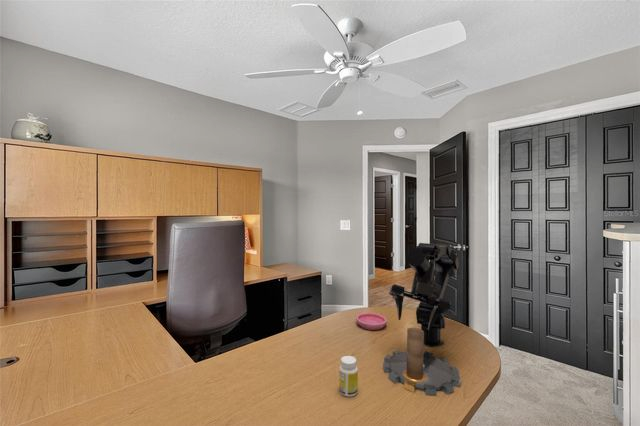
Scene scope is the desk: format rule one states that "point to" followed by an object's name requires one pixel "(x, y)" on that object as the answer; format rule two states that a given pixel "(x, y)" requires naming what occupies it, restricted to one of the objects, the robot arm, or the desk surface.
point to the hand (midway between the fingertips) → (413, 324)
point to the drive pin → (415, 353)
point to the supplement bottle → (348, 376)
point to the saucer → (371, 321)
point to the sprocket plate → (434, 373)
